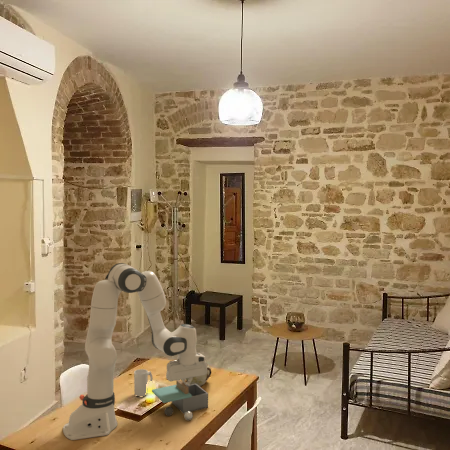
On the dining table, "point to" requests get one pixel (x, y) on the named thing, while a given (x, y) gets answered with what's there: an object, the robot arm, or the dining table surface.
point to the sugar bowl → (201, 378)
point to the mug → (141, 381)
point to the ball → (168, 411)
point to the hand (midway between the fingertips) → (186, 386)
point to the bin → (193, 400)
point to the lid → (172, 392)
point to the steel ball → (188, 415)
